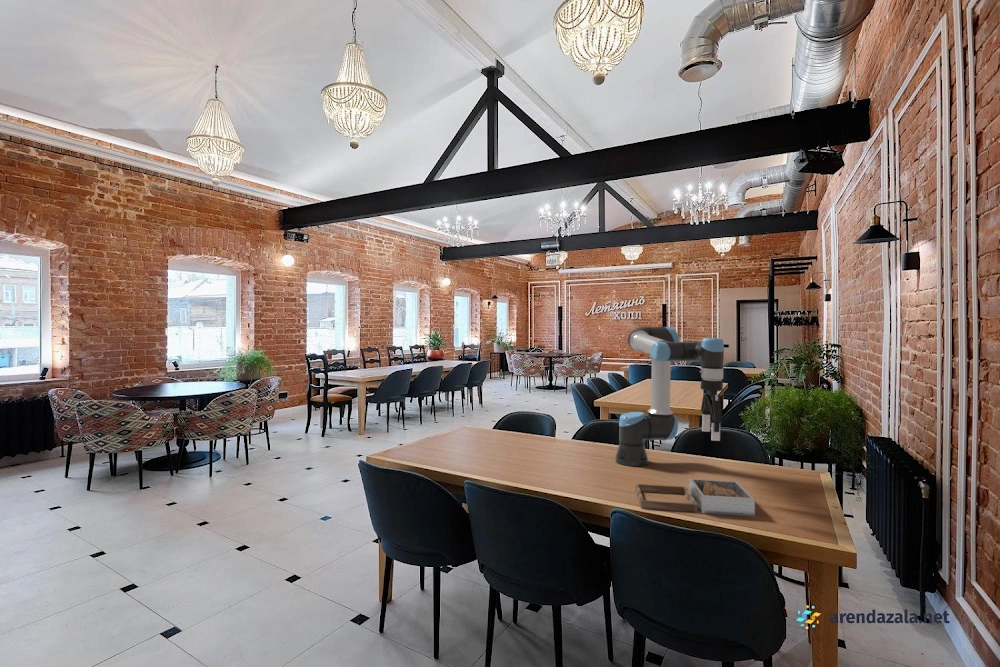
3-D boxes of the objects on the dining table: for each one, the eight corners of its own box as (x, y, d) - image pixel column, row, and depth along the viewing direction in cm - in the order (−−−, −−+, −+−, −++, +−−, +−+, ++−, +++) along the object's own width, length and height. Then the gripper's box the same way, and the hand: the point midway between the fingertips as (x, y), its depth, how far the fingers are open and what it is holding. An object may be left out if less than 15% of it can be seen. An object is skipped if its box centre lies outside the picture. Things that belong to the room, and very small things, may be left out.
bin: (689, 494, 181) (689, 478, 181) (736, 497, 178) (736, 481, 178) (701, 513, 162) (701, 495, 162) (754, 516, 159) (754, 499, 159)
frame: (635, 490, 185) (635, 483, 185) (686, 493, 182) (686, 486, 182) (641, 508, 166) (641, 501, 166) (697, 511, 163) (697, 504, 163)
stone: (712, 506, 176) (734, 491, 175) (724, 521, 165) (748, 505, 164) (695, 485, 175) (717, 469, 174) (706, 499, 164) (730, 482, 163)
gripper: (693, 375, 188) (692, 427, 189) (710, 383, 164) (708, 444, 164) (713, 375, 187) (712, 428, 188) (733, 384, 162) (731, 445, 163)
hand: (710, 435), depth 176 cm, fingers open, 13 cm apart
